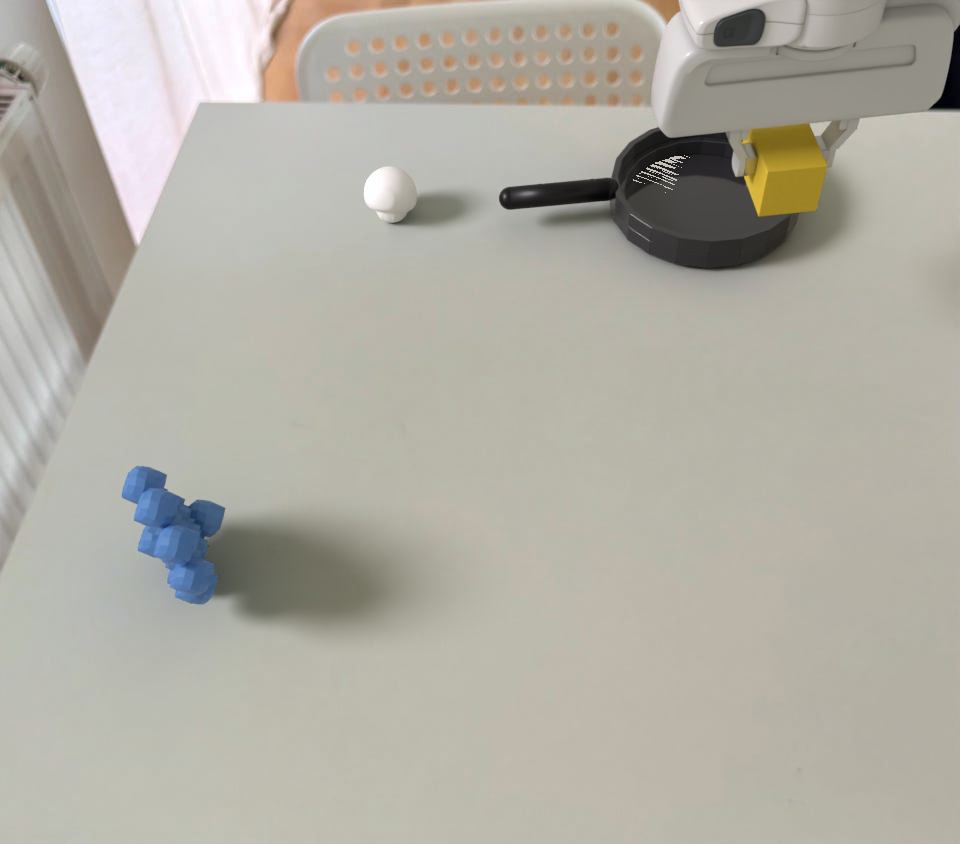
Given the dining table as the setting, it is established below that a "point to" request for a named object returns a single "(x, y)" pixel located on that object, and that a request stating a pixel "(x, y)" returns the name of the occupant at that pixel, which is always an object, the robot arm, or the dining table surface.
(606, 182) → the pan handle
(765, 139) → the yellow block
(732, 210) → the pan
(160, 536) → the grapes
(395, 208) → the mushroom
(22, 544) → the dining table surface
